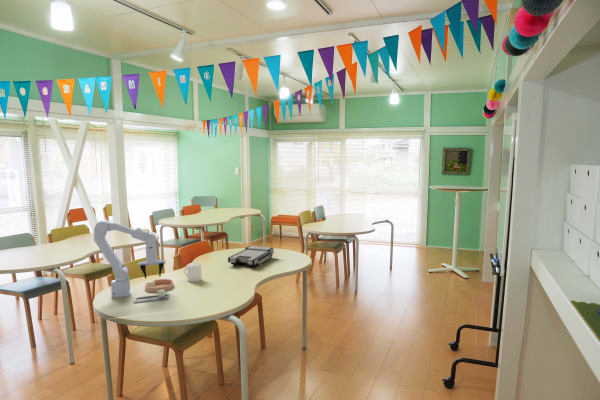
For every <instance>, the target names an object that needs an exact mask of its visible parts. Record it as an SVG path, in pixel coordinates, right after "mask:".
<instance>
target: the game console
mask: <svg viewBox="0 0 600 400" xmlns="http://www.w3.org/2000/svg"><path fill="white" fill-rule="evenodd" d="M274 251H275V250H274V247H267V246H255V245H252V246H251V245H249V246H246V247H245V248H244V250H241V251H239V252H237V253H235V254H233V255H230V256H228V257H227V263H230V264H231V265H232V266H237V265H241V266H242V264H243V263H244V264H247V266H248V267H249V266H254V267H253V268H258V267H260V266H261V265H260V264H262V263H263V264H265V263H266V262H265V261H267V260H268V261H270V260H271V259H272V257H273V255H274V254H275V253H274ZM270 258H271V259H270ZM269 259H270V260H269ZM268 261H267V262H268ZM264 262H265V263H264ZM244 264H243V265H244ZM263 264H262V265H263ZM259 265H260V266H259ZM257 266H258V267H257Z"/></svg>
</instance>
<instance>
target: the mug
mask: <svg viewBox="0 0 600 400" xmlns="http://www.w3.org/2000/svg"><path fill="white" fill-rule="evenodd" d="M183 272H184V275H185V276H186V277H187V280H188V282H190V283H197V282H200V281H202V276H203V275H202V263H201V262H190V263H188V264H187V265H186V266H185V267H184V271H183Z"/></svg>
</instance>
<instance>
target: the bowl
mask: <svg viewBox="0 0 600 400" xmlns="http://www.w3.org/2000/svg"><path fill="white" fill-rule="evenodd" d="M152 281H155V287H148V284H147V282H146V283H145V284H144V291H146V292H148V293H157V291H158V290H161V289H164V290H165V292H167V291H170V290H171V289H173V288H174V287H175V286H174V285H175V284H174V280H173V279H169V278H160V279H158V278H157V279H154V280H152Z"/></svg>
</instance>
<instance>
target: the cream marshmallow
mask: <svg viewBox="0 0 600 400" xmlns="http://www.w3.org/2000/svg"><path fill="white" fill-rule="evenodd" d="M146 283H147V284H148V287H155V281H153V280H149V281H147V282H146Z"/></svg>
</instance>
